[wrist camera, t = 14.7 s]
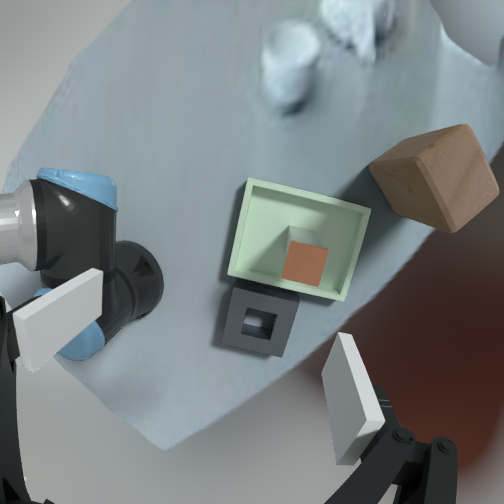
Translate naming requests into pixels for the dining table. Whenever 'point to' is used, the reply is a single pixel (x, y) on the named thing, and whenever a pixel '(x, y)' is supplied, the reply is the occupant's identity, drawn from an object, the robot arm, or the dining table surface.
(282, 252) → the tray
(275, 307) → the block
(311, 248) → the pin
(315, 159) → the dining table surface
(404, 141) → the wooden block
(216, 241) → the dining table surface
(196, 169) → the dining table surface
